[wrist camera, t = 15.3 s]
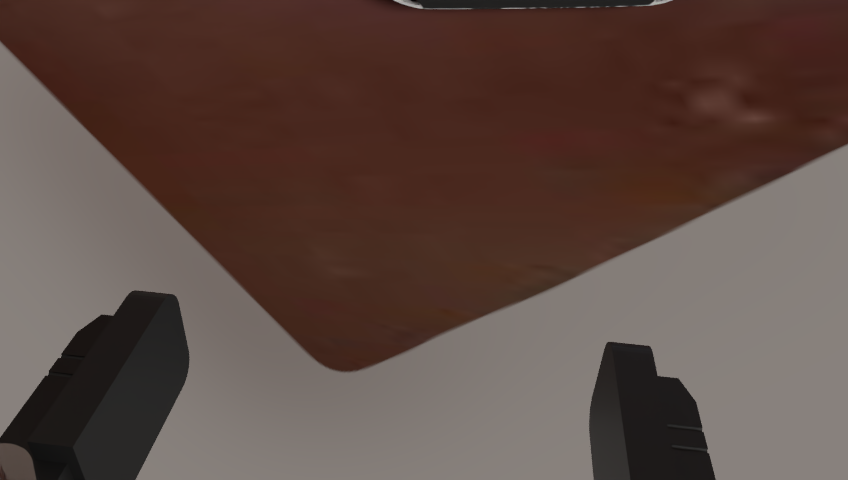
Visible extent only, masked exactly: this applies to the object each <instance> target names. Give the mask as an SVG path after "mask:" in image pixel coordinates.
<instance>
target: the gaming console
mask: <svg viewBox="0 0 848 480" xmlns="http://www.w3.org/2000/svg"><path fill="white" fill-rule="evenodd" d="M394 1H396V2H399V3H401V4H404V5H407V6H411V7H415V8H421V9H518V8H579V7H622V6H650V5H656V4H661V3H665V2H668V1H672V0H417V1H416V0H394Z"/></svg>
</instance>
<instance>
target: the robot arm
mask: <svg viewBox="0 0 848 480" xmlns="http://www.w3.org/2000/svg"><path fill="white" fill-rule="evenodd" d="M188 368H189V350H188V346H187V340H186V336H185V331H184V326H183V321H182V316H181V312H180V307H179V302H178V300H177V298H176V296H175V295H173V294H163V293H155V292H145V291H132V292H131V293H129V295H128V296H127V297H126V298H125V300H124V301H123V303H122V304H121V306H120V307H119V309H118V310H117V312H116V313H115V314H114V316H110V315H100V316H99V317H98V318H96V319H95V320H94V321H92V322H91V323H89V324H88V325H87V326H85V327H84V328H83V329H81V330H80V331H78V332H77V333H76V335H75V336H74V338H73V339H72V340H71V341H70V343H69V345H68V346H67V347H66V348H65V350H64V351H63V353H62V356H61V358H58V359H57V361H56V362H55V363H54V365H53V366H52V368H51V369H50V370H49V375H48V376H45V377H44V379H43V380H42V381H41V383H40V384H39V385H38V387H37V388H36V389H35V391H34V392H33V394H32V395H31V396H30V398H29V399H28V400H27V402H26V403H25V404H24V406H23V407H22V409H21V410H20V411H19V413H18V414H17V416H16V417H15V418H14V420H13V421H12V422H11V424H10V425H9V426H8V428H7V429H6V431H5V432H4V433H3V435H2V436H1V437H0V480H135V479H136V477H137V475H138V473H139V471H140V470H141V468H142V466H143V464H144V462H145V460H146V458H147V456H148V454H149V452H150V450H151V448H152V446H153V444H154V442H155V440H156V438H157V436H158V434H159V432H160V430H161V429H162V427H163V425H164V423H165V421H166V419H167V417H168V415H169V413H170V411H171V409H172V407H173V405H174V403H175V401H176V399H177V397H178V395H179V393H180V391H181V390H182V387H183V385H184V383H185V380H186V377H187V373H188ZM589 431H590V443H591V454H592V465H593V475H594V480H715V475H714V471H713V467H712V464H711V460H710V456H709V454H708V453H707V449H708V448H707V444H706V440H705V436H704V433H703V432H702V424H701V420H700V416H699V412H698V408H697V404H696V402H695V400H694V399H693V397H692V396H691V395H690V393H689V392H688V391H687V389H686V388H685V387H684V385H683V384H682V383H681V382H680V380H679V379H678V378H670V377H660V376H657V371H656V366H655V362H654V357H653V352H652V349H651V347H650V346H644V345H635V344H625V343H616V342H608V343H607V344H606V347H605V349H604V353H603V357H602V361H601V365H600V369H599V373H598V377H597V381H596V384H595V388H594V392H593V396H592V401H591V407H590V420H589Z"/></svg>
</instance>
